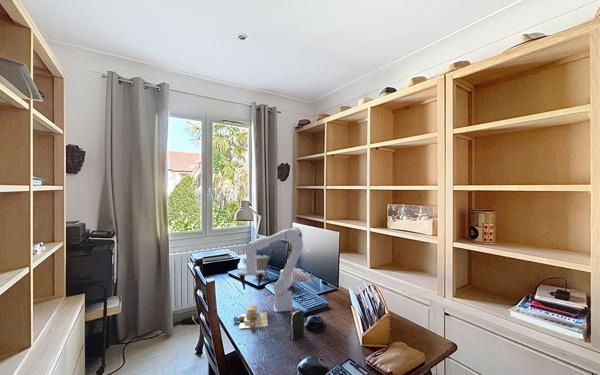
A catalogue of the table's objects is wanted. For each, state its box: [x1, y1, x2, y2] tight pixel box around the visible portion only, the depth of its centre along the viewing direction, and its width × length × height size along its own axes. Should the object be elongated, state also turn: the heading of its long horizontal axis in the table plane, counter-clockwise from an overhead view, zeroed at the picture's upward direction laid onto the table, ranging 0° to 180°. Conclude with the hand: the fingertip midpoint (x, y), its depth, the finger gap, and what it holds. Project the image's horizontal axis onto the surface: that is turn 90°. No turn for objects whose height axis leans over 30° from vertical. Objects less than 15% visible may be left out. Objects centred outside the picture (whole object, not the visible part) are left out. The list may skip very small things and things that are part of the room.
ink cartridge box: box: [279, 268, 294, 287], centre depth 169 cm, size 9×5×15 cm, turn 148°
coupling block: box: [247, 305, 258, 320], centre depth 127 cm, size 4×5×6 cm
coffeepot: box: [254, 252, 272, 279], centre depth 187 cm, size 15×9×18 cm, turn 88°
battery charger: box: [288, 308, 305, 341], centre depth 115 cm, size 7×4×11 cm, turn 134°
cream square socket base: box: [233, 311, 269, 331], centre depth 126 cm, size 16×15×3 cm
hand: (251, 288), depth 144 cm, fingers open, 7 cm apart
